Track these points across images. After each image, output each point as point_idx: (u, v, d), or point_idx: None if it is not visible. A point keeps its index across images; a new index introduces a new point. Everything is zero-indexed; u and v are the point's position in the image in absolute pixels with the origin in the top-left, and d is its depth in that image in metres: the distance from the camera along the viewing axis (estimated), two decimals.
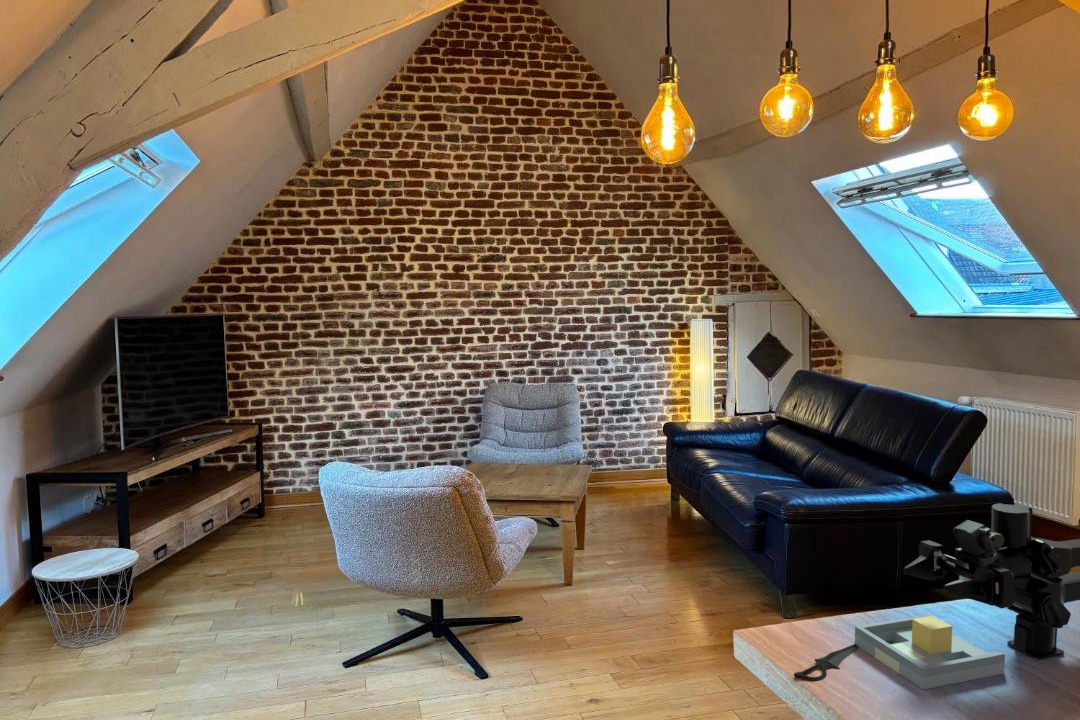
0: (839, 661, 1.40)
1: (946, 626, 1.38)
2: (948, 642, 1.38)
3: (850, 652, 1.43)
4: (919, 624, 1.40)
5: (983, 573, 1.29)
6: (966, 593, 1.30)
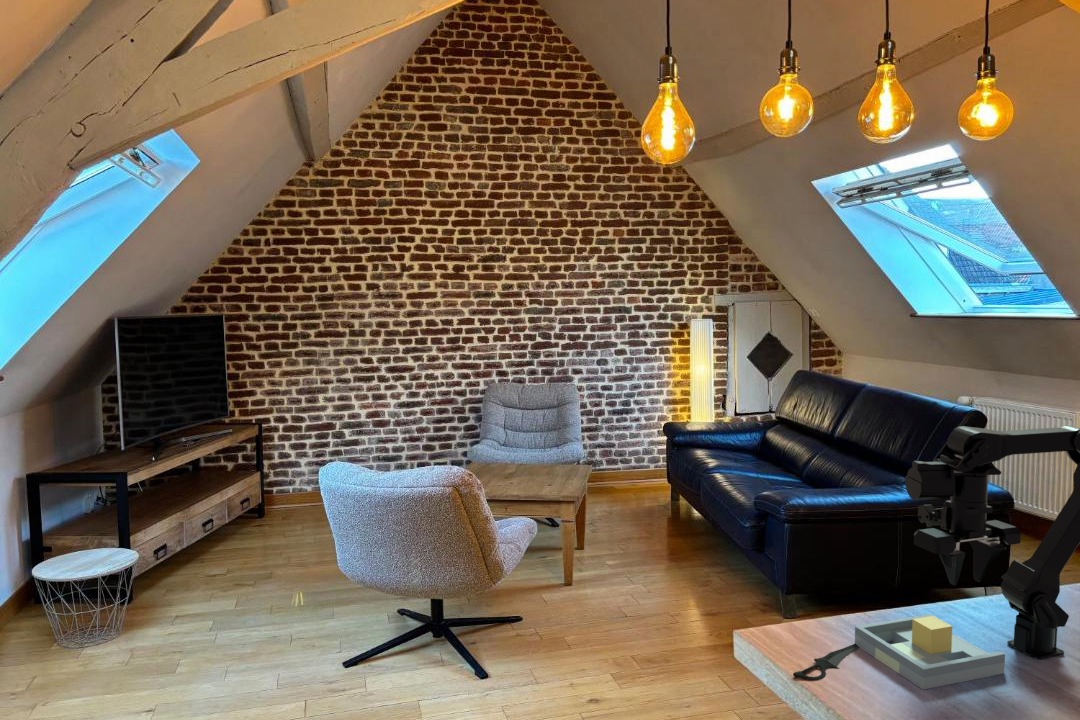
0: (839, 661, 1.40)
1: (946, 626, 1.38)
2: (948, 642, 1.38)
3: (850, 652, 1.43)
4: (919, 624, 1.40)
5: None
6: (952, 569, 1.39)
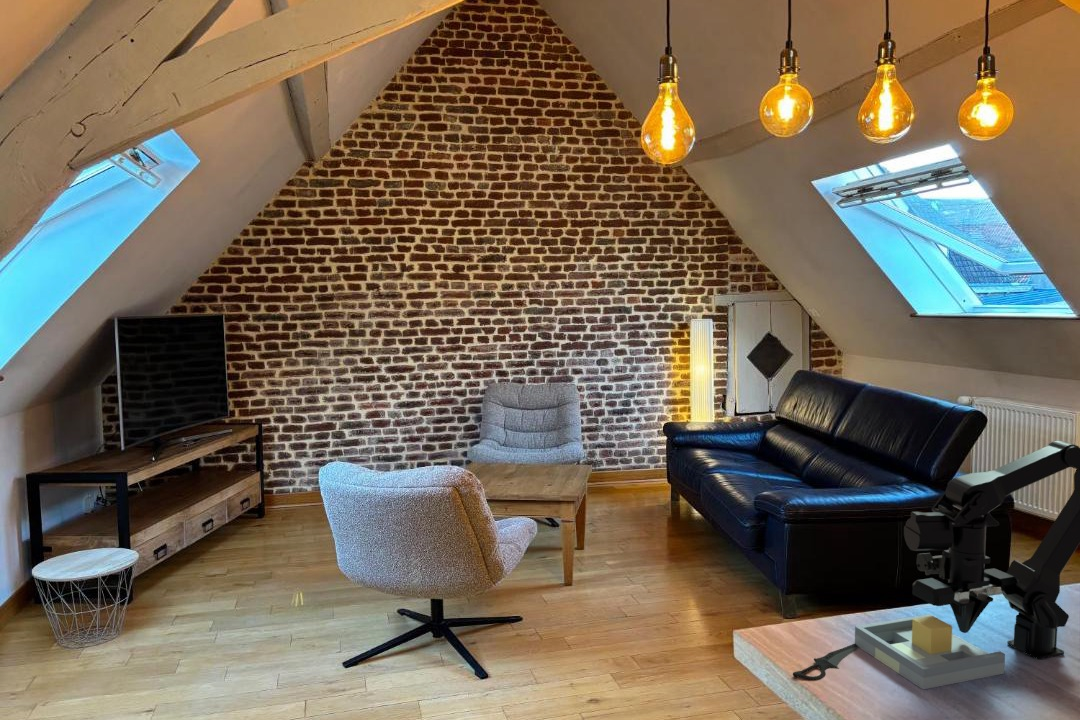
0: (838, 661, 1.40)
1: (946, 626, 1.38)
2: (948, 642, 1.38)
3: (849, 652, 1.43)
4: (919, 624, 1.40)
5: None
6: (962, 617, 1.40)
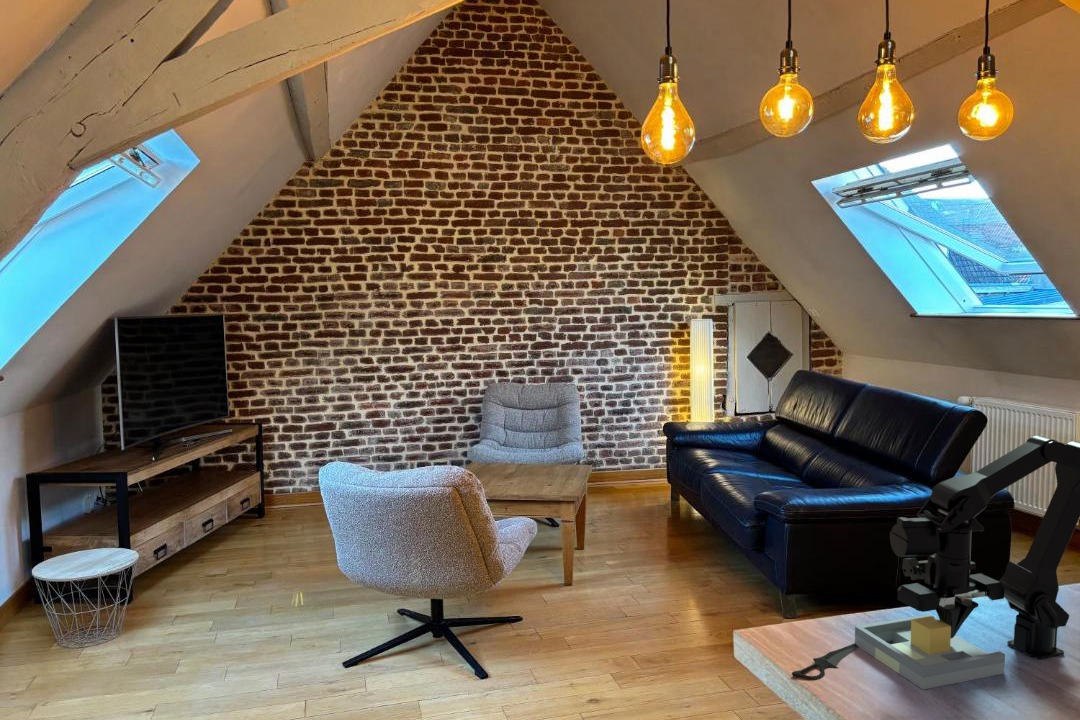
0: (838, 660, 1.40)
1: (945, 626, 1.38)
2: (947, 642, 1.38)
3: (849, 652, 1.43)
4: (918, 624, 1.40)
5: None
6: (947, 622, 1.40)
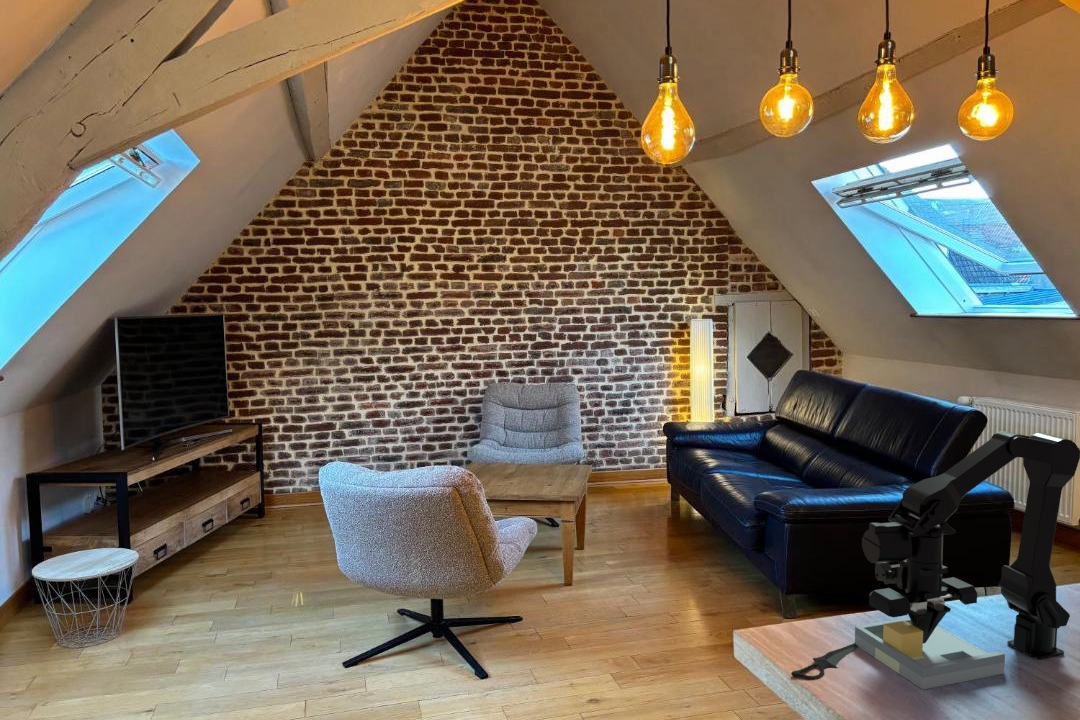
0: (837, 660, 1.40)
1: (917, 631, 1.37)
2: (919, 647, 1.37)
3: (849, 651, 1.43)
4: (890, 629, 1.38)
5: None
6: (920, 627, 1.38)
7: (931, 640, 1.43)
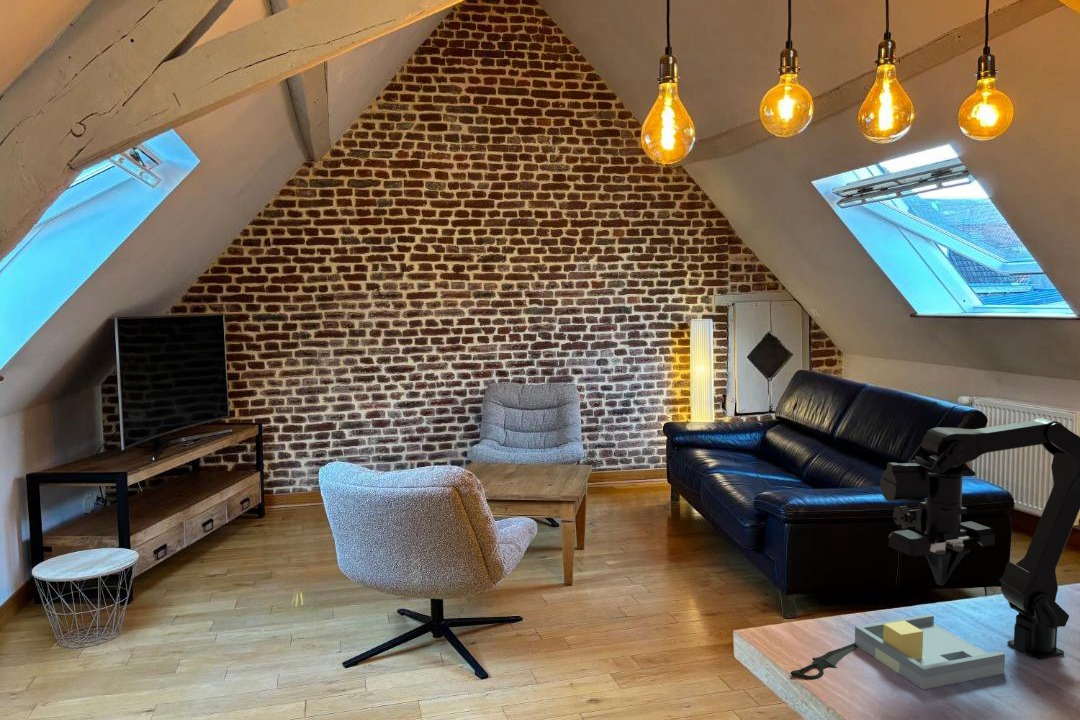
0: (837, 660, 1.40)
1: (917, 631, 1.37)
2: (919, 647, 1.37)
3: (848, 651, 1.43)
4: (890, 629, 1.38)
5: None
6: (938, 569, 1.39)
7: (931, 640, 1.43)
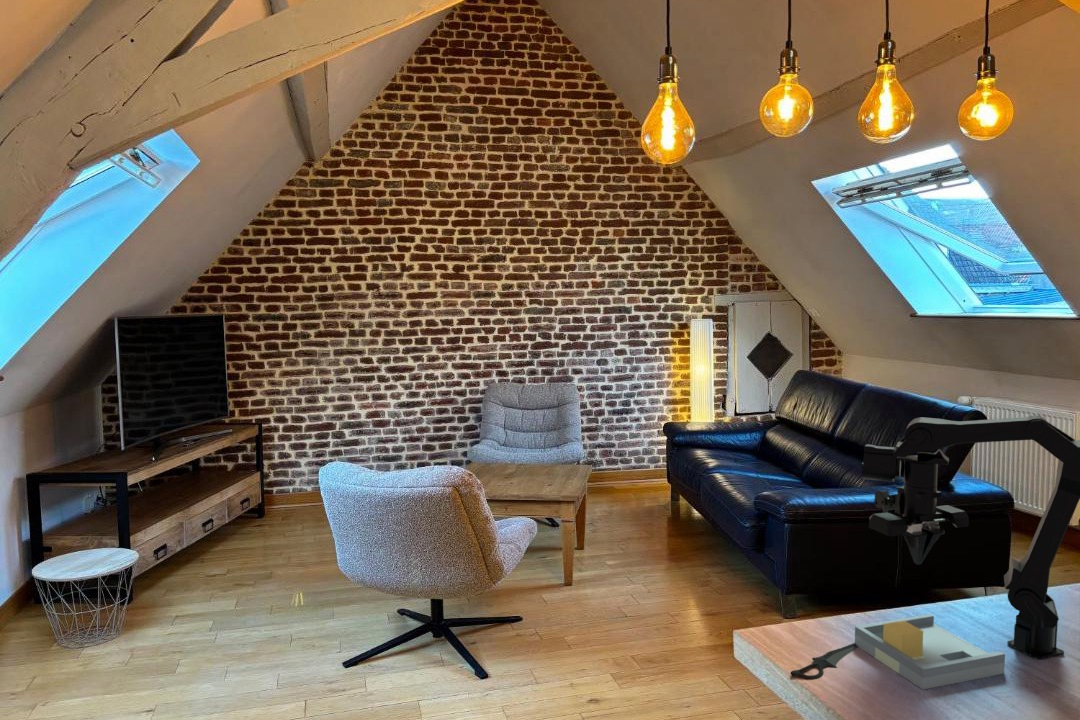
0: (837, 660, 1.40)
1: (917, 631, 1.37)
2: (919, 647, 1.37)
3: (848, 651, 1.43)
4: (890, 629, 1.38)
5: None
6: (915, 548, 1.49)
7: (931, 640, 1.43)
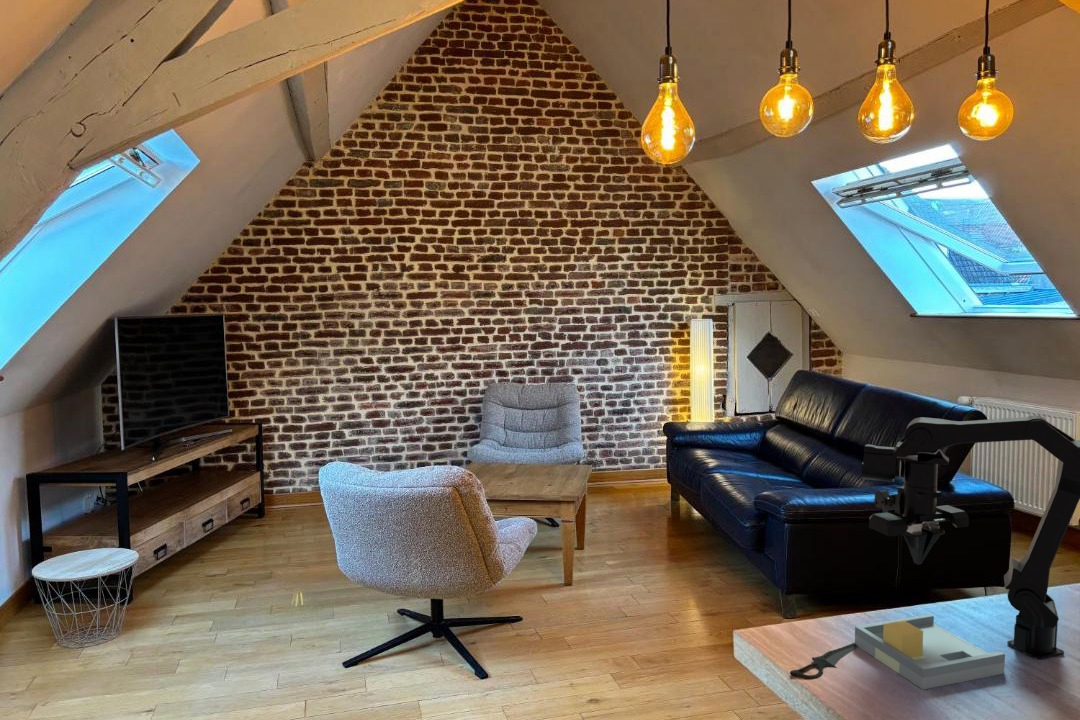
0: (836, 660, 1.40)
1: (917, 631, 1.37)
2: (919, 647, 1.37)
3: (848, 651, 1.43)
4: (890, 629, 1.38)
5: None
6: (915, 548, 1.49)
7: (931, 640, 1.43)
